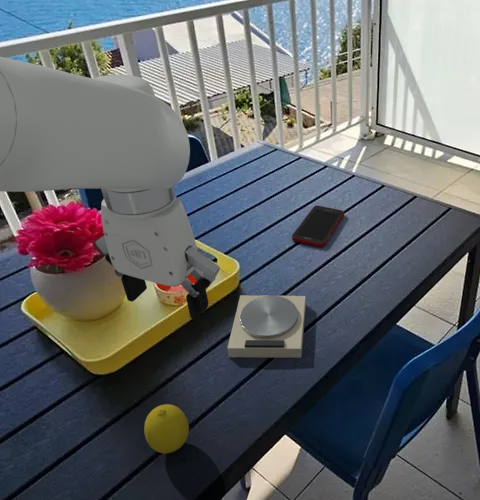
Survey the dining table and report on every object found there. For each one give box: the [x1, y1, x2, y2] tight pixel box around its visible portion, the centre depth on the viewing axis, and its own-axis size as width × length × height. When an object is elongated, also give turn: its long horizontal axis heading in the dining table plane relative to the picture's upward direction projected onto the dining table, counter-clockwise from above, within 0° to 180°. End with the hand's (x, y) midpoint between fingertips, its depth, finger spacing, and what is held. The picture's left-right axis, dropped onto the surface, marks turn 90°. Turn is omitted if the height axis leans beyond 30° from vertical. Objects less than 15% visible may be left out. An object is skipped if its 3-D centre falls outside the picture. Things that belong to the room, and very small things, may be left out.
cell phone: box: [291, 205, 345, 248], centre depth 114 cm, size 8×15×1 cm, turn 162°
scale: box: [227, 294, 307, 359], centre depth 87 cm, size 13×12×3 cm
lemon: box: [143, 403, 190, 454], centre depth 67 cm, size 6×6×8 cm
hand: (168, 303), depth 66 cm, fingers open, 9 cm apart
